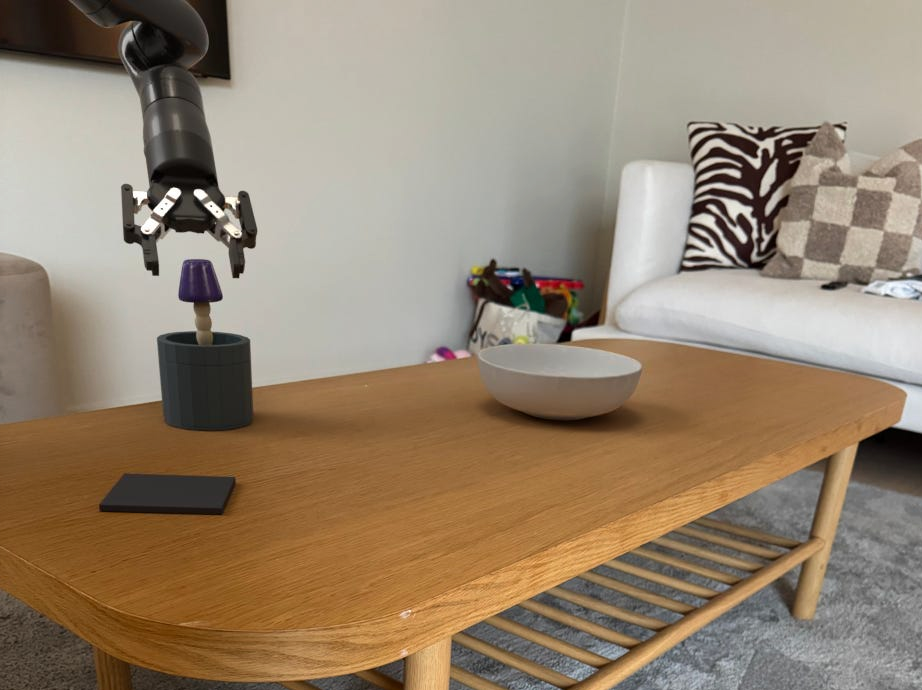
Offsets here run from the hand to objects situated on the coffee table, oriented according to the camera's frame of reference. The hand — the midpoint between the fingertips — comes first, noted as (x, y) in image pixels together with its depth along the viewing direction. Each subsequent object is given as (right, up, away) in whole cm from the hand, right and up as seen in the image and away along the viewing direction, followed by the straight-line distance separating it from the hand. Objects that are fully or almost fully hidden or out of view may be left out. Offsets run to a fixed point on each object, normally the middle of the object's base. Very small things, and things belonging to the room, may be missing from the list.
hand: (197, 272), depth 105 cm
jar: (0, -15, +5) cm, 16 cm away
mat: (+4, -28, -20) cm, 34 cm away
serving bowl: (+41, -11, +19) cm, 46 cm away
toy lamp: (0, -15, +5) cm, 16 cm away
